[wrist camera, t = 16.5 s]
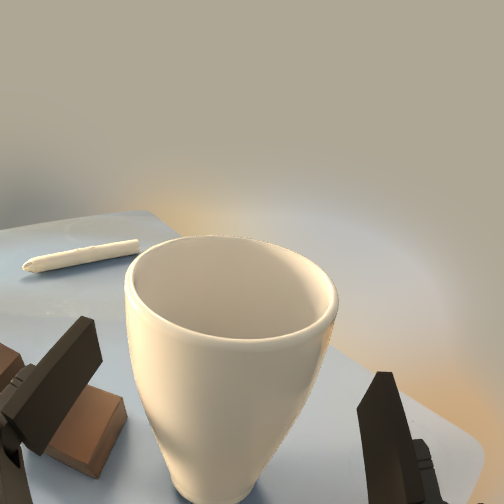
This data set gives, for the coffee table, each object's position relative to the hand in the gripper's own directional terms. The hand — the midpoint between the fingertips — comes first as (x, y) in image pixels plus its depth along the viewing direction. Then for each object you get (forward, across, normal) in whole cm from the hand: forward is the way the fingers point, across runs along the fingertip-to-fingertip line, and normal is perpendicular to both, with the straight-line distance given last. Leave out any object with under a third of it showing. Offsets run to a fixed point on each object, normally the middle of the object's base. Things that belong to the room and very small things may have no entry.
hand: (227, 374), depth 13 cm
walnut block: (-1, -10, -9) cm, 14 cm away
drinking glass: (-1, 0, -10) cm, 10 cm away
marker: (+22, -24, -10) cm, 34 cm away
